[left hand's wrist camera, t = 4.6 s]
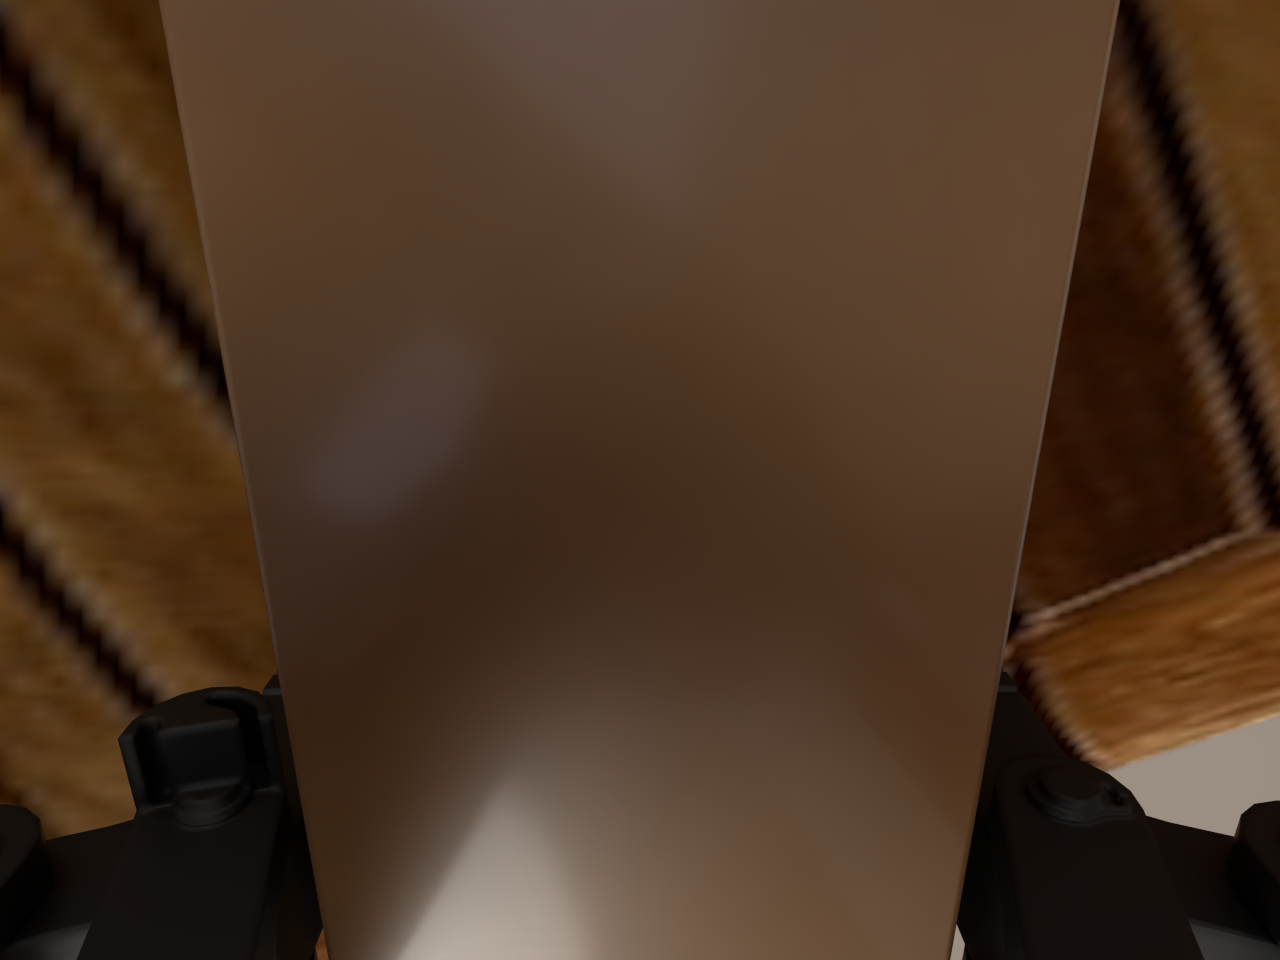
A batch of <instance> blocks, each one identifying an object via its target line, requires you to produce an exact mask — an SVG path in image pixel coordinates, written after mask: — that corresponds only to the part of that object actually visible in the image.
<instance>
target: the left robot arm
mask: <svg viewBox="0 0 1280 960" xmlns="http://www.w3.org/2000/svg"><path fill="white" fill-rule="evenodd" d="M118 742H119V745H120V749H121V753H122V757H123V761H124V764H125V768H126V772H127V776H128V779H129V783H130V787H131V791H132V795H133V798H134V802H135V806H136V810H137V811H136V814H135V816H134V819H133V820H130V821H126V822H123V823H119V824H116V825H112V826H108V827H104V828H99V829H95V830H90V831H86V832H81V833H77V834H72V835H68V836H63V837H59V838H54V839H49V840H46V838H45V835H44V832H43V829H42V826H41V823H40V819H39V818H38V817H37V816H36V815H34V814H33V813H32V812H31V811H30V810H28V809H27V808H24V807H18V806H11V805H5V804H1V805H0V960H318V958H317V953H316V947H315V946H316V943H317V941H318V939H319V936H320V934H321V931H322V929H323V924H322V918H321V913H320V907H319V901H318V896H317V890H316V884H315V879H314V873H313V868H312V862H311V856H310V851H309V845H308V839H307V834H306V828H305V822H304V817H303V811H302V805H301V800H300V794H299V789H298V783H297V777H296V772H295V766H294V760H293V755H292V749H291V743H290V738H289V732H288V726H287V721H286V715H285V710H284V704H283V698H282V693H281V687H280V681H279V676H278V670H277V674H276V675H273V676H272V678H271V679H270V681H269V682H268V683H267V685H266V686H265V688H264V689H263V695H261V694H260V693H259V692H258V691H253V690H249V689H245V688H241V687H211V688H206V689H202V690H198V691H193V692H189V693H184V694H181V695H179V696H176V697H174V698H172V699H169V700H167V701H165V702H162V703H160V704H157V705H155V706H153V707H152V708H151V709H149V710H148V711H146V712H145V713H143V714H142V715H140V716H139V717H137V718H136V719H135V720H133V721H132V722H131V723H130V724H129V725H128V727H127V728H126V729H125V730H124V732H123V733H122V734H121V735H120V737H119V738H118ZM957 926H958V928H959V931H960V933H961V935H962V938H963V940H964V943H965V947H964V953H963V958H962V960H1280V801H1271V802H1264V803H1257V804H1254V805H1252V806H1251V807H1250V808H1249V809H1248V810H1246V811H1245V812H1244V813H1243V814H1242V815H1241V817H1240V820H1239V823H1238V827H1237V830H1236V833H1235V836H1234V837H1233V836H1229V835H1224V834H1220V833H1215V832H1211V831H1206V830H1202V829H1197V828H1193V827H1188V826H1184V825H1179V824H1174V823H1170V822H1166V821H1163V820H1159V819H1156V818H1152V817H1149V816H1146V815H1145V813H1144V810H1143V808H1142V807H1141V806H1140V804H1139V803H1138V801H1137V800H1136V798H1135V797H1134V795H1133V794H1132V792H1131V791H1130V790H1129V789H1127V788H1126V787H1125V786H1124V785H1122V784H1121V783H1120V782H1118V781H1117V780H1116V779H1115V778H1113V777H1112V776H1111V775H1110V774H1108V773H1106V772H1104V771H1102V770H1100V769H1098V768H1095V767H1093V766H1091V765H1089V764H1087V763H1085V762H1083V761H1080V760H1076V759H1072V758H1068V757H1066V756H1065V755H1064V753H1063V752H1062V750H1061V749H1060V748H1059V746H1058V745H1057V743H1056V742H1055V740H1054V739H1053V738H1052V736H1051V735H1050V733H1049V732H1048V730H1047V729H1046V728H1045V726H1044V725H1043V723H1042V722H1041V721H1040V719H1039V718H1038V716H1037V715H1036V713H1035V712H1034V711H1033V709H1032V708H1031V706H1030V705H1029V703H1028V702H1027V701H1026V699H1025V698H1024V696H1023V695H1022V693H1021V692H1017V686H1016V685H1015V683H1014V682H1013V681H1012V679H1011V678H1010V676H1009V675H1008V673H1007V672H1003V666H1002V670H1001V675H1000V681H999V687H998V692H997V698H996V703H995V709H994V715H993V720H992V726H991V732H990V737H989V743H988V749H987V754H986V760H985V766H984V771H983V777H982V782H981V788H980V794H979V799H978V805H977V811H976V816H975V822H974V828H973V833H972V839H971V845H970V850H969V856H968V861H967V867H966V873H965V878H964V884H963V890H962V895H961V901H960V907H959V912H958V918H957Z"/></svg>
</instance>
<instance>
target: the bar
mask: <svg viewBox="0 0 1280 960" xmlns="http://www.w3.org/2000/svg"><path fill="white" fill-rule="evenodd" d="M159 4H160V10H161V16H162V21H163V27H164V33H165V38H166V44H167V50H168V55H169V61H170V66H171V72H172V78H173V83H174V89H175V95H176V100H177V106H178V112H179V117H180V123H181V129H182V134H183V140H184V145H185V151H186V157H187V162H188V168H189V174H190V179H191V185H192V191H193V196H194V202H195V207H196V213H197V219H198V224H199V230H200V236H201V241H202V247H203V253H204V258H205V264H206V270H207V275H208V281H209V286H210V292H211V298H212V303H213V309H214V315H215V320H216V326H217V332H218V337H219V343H220V349H221V354H222V360H223V365H224V371H225V377H226V382H227V388H228V394H229V399H230V405H231V411H232V416H233V422H234V427H235V433H236V439H237V444H238V450H239V456H240V461H241V467H242V473H243V478H244V484H245V490H246V495H247V501H248V506H249V512H250V518H251V523H252V529H253V535H254V540H255V546H256V552H257V557H258V563H259V569H260V574H261V580H262V585H263V591H264V597H265V602H266V608H267V614H268V619H269V625H270V631H271V636H272V642H273V648H274V653H275V659H276V664H277V670H278V676H279V681H280V687H281V693H282V698H283V704H284V710H285V715H286V721H287V726H288V732H289V738H290V743H291V749H292V755H293V760H294V766H295V772H296V777H297V783H298V789H299V794H300V800H301V805H302V811H303V817H304V822H305V828H306V834H307V839H308V845H309V851H310V856H311V862H312V868H313V873H314V879H315V884H316V890H317V896H318V901H319V907H320V913H321V918H322V924H323V930H324V935H325V941H326V946H327V952H328V958H329V960H950V957H951V952H952V946H953V940H954V935H955V929H956V924H957V918H958V912H959V907H960V901H961V895H962V890H963V884H964V878H965V873H966V867H967V861H968V856H969V850H970V845H971V839H972V833H973V828H974V822H975V816H976V811H977V805H978V799H979V794H980V788H981V782H982V777H983V771H984V766H985V760H986V754H987V749H988V743H989V737H990V732H991V726H992V720H993V715H994V709H995V703H996V698H997V692H998V687H999V681H1000V675H1001V670H1002V664H1003V658H1004V653H1005V647H1006V641H1007V636H1008V630H1009V624H1010V619H1011V613H1012V607H1013V602H1014V596H1015V591H1016V585H1017V579H1018V574H1019V568H1020V562H1021V557H1022V551H1023V545H1024V540H1025V534H1026V528H1027V523H1028V517H1029V512H1030V506H1031V500H1032V495H1033V489H1034V483H1035V478H1036V472H1037V466H1038V461H1039V455H1040V449H1041V444H1042V438H1043V433H1044V427H1045V421H1046V416H1047V410H1048V404H1049V399H1050V393H1051V387H1052V382H1053V376H1054V370H1055V365H1056V359H1057V353H1058V348H1059V342H1060V337H1061V331H1062V325H1063V320H1064V314H1065V308H1066V303H1067V297H1068V291H1069V286H1070V280H1071V274H1072V269H1073V263H1074V258H1075V252H1076V246H1077V241H1078V235H1079V229H1080V224H1081V218H1082V212H1083V207H1084V201H1085V195H1086V190H1087V184H1088V179H1089V173H1090V167H1091V162H1092V156H1093V150H1094V145H1095V139H1096V133H1097V128H1098V122H1099V116H1100V111H1101V105H1102V99H1103V94H1104V88H1105V83H1106V77H1107V71H1108V66H1109V60H1110V54H1111V49H1112V43H1113V37H1114V32H1115V26H1116V20H1117V15H1118V9H1119V4H1120V0H159Z"/></svg>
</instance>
